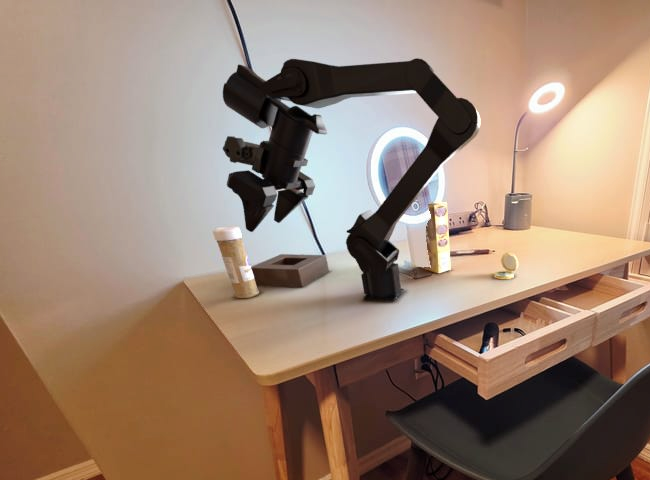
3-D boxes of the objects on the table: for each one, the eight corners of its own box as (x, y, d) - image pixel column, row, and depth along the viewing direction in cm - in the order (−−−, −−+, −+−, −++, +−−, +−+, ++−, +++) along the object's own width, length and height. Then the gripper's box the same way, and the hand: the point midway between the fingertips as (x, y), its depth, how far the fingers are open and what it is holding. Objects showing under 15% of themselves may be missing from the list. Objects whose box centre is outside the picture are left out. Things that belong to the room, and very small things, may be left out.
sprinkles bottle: (261, 296, 77) (240, 228, 70) (236, 300, 75) (212, 231, 68) (257, 290, 80) (237, 225, 74) (234, 294, 78) (211, 227, 72)
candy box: (451, 270, 90) (448, 202, 82) (438, 274, 88) (434, 204, 80) (428, 263, 96) (423, 199, 88) (415, 267, 93) (409, 201, 85)
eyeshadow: (490, 276, 85) (490, 255, 82) (503, 271, 88) (503, 250, 86) (506, 280, 82) (507, 258, 80) (518, 275, 86) (519, 253, 83)
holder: (329, 271, 91) (325, 255, 89) (302, 287, 81) (298, 269, 79) (285, 270, 93) (281, 254, 91) (253, 285, 83) (248, 267, 81)
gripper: (273, 119, 70) (252, 195, 77) (203, 111, 54) (185, 208, 61) (327, 155, 72) (302, 226, 79) (275, 157, 56) (249, 246, 63)
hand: (263, 225), depth 71 cm, fingers open, 9 cm apart
